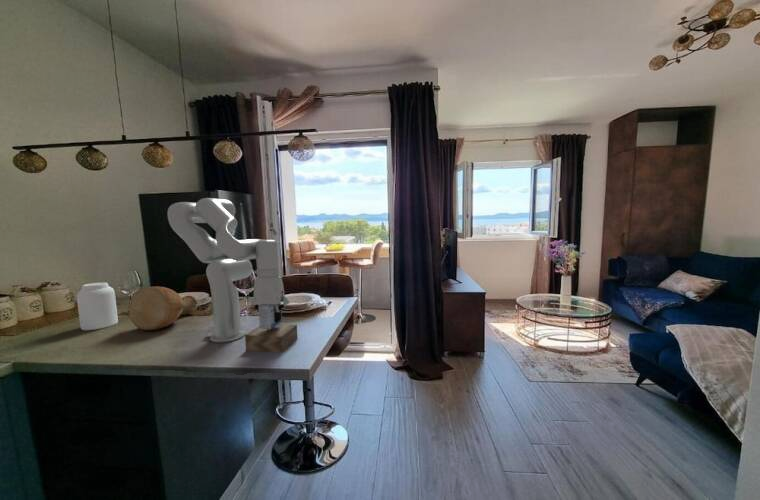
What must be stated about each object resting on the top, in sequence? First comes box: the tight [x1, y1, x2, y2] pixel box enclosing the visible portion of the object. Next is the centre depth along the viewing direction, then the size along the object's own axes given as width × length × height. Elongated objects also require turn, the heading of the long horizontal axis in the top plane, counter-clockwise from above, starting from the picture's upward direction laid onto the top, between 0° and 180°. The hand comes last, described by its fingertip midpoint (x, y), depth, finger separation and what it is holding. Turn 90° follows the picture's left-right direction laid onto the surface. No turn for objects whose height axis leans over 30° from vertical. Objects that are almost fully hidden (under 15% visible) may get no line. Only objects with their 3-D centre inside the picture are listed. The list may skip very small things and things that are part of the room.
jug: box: [128, 285, 199, 331], centre depth 134 cm, size 20×19×30 cm
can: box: [76, 281, 119, 331], centre depth 132 cm, size 12×12×20 cm
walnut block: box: [244, 323, 298, 353], centre depth 107 cm, size 14×12×6 cm
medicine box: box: [258, 305, 283, 329], centre depth 106 cm, size 8×4×9 cm, turn 169°
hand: (271, 320), depth 106 cm, fingers closed on medicine box, 4 cm apart
